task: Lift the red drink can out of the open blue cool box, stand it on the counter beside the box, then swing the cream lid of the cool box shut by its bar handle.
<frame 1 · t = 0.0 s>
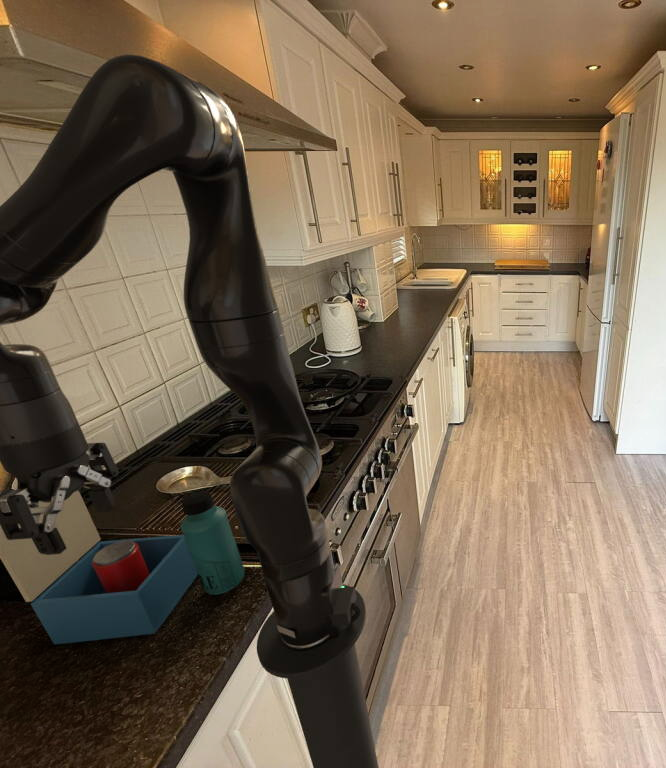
hand: (83, 529, 58), 21 cm above the worktop, tool pointing down, fingers open, 8 cm apart
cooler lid: (28, 532, 63), point 17 cm above the worktop, hinge at 90.0°
beverage bottle: (227, 588, 74), on the worktop
can: (136, 600, 70), point 1 cm above the worktop, touching cool box
cool box: (134, 604, 71), on the worktop
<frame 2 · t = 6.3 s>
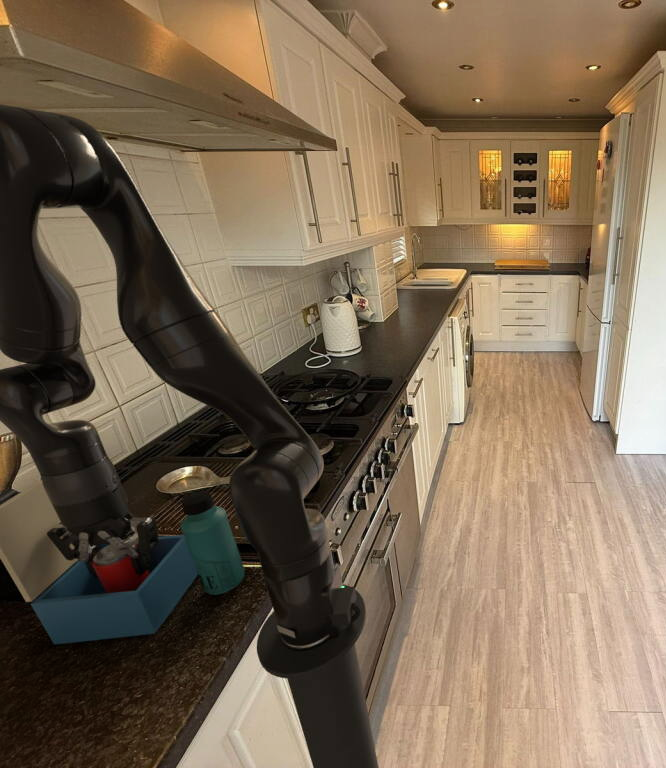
hand: (123, 572, 68), 7 cm above the worktop, tool pointing down, fingers closed on can, 5 cm apart
can: (136, 600, 70), point 1 cm above the worktop, touching cool box, gripper
everything else where it was.
when the fingers open (7 cm above the worktop, at t = 14.4 s): can stays where it is, on the worktop.
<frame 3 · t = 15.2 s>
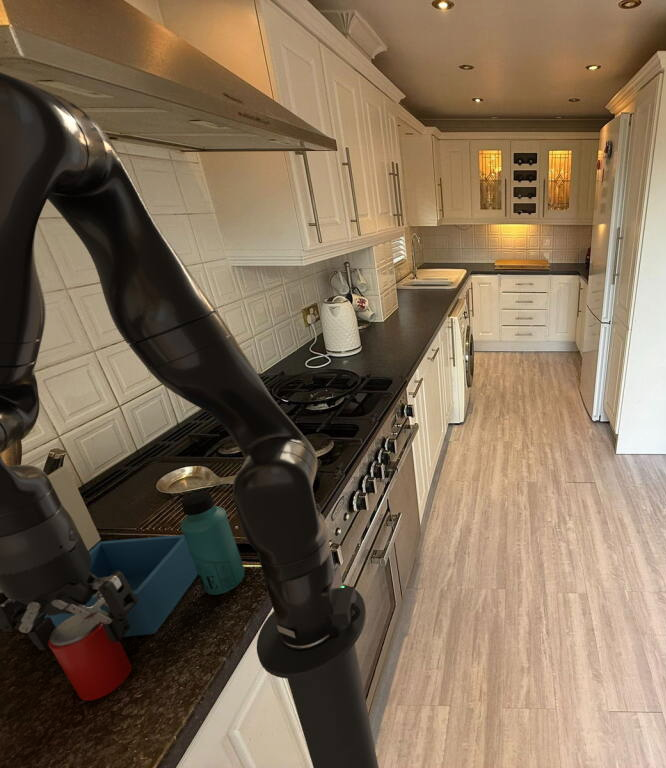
hand: (86, 640, 56), 8 cm above the worktop, tool pointing down, fingers open, 8 cm apart
can: (106, 679, 59), on the worktop
everything else where it was.
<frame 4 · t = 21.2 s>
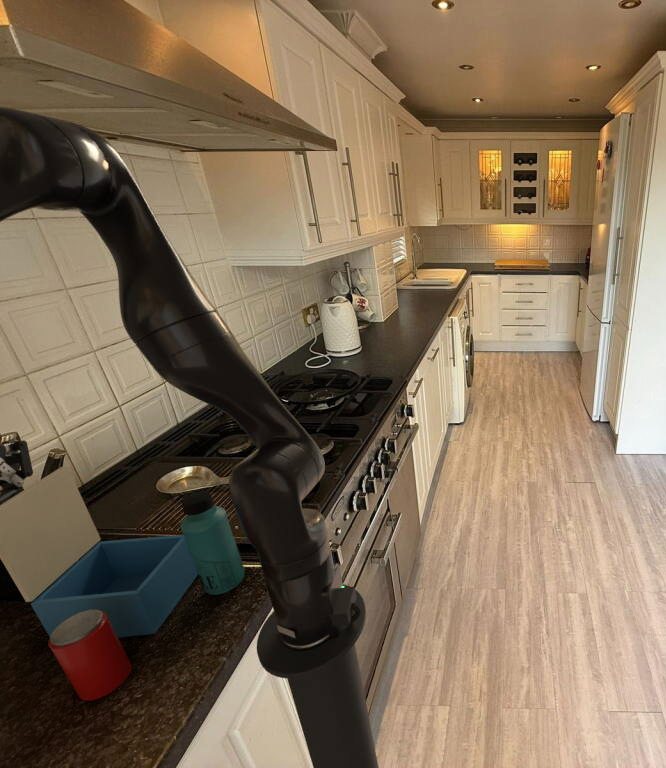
hand: (2, 520, 62), 19 cm above the worktop, tool pointing down, fingers closed on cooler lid, 5 cm apart
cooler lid: (28, 532, 63), point 17 cm above the worktop, hinge at 90.0°, touching gripper
everything else where it was.
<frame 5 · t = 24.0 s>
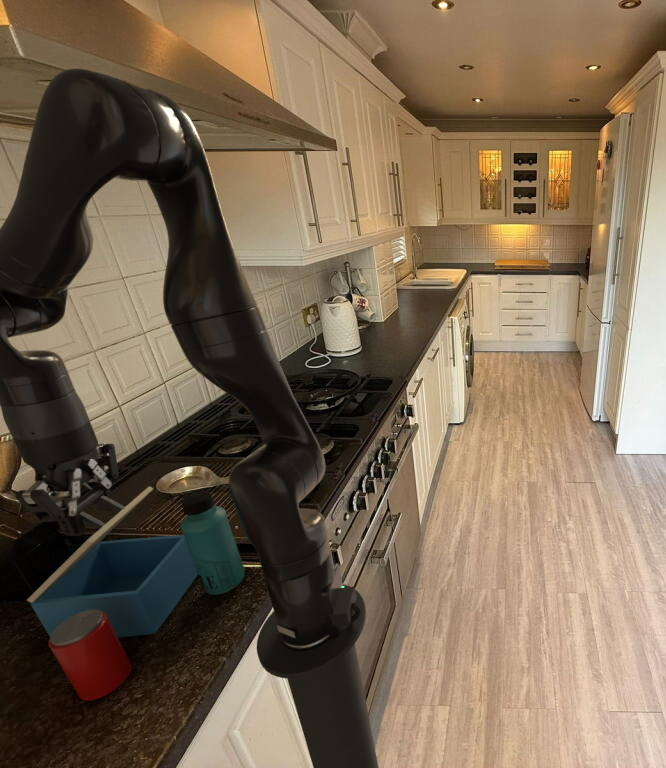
hand: (92, 520, 64), 18 cm above the worktop, tool pointing down, fingers closed on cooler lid, 5 cm apart
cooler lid: (77, 531, 64), point 16 cm above the worktop, hinge at 41.4°, touching gripper
everything else where it was.
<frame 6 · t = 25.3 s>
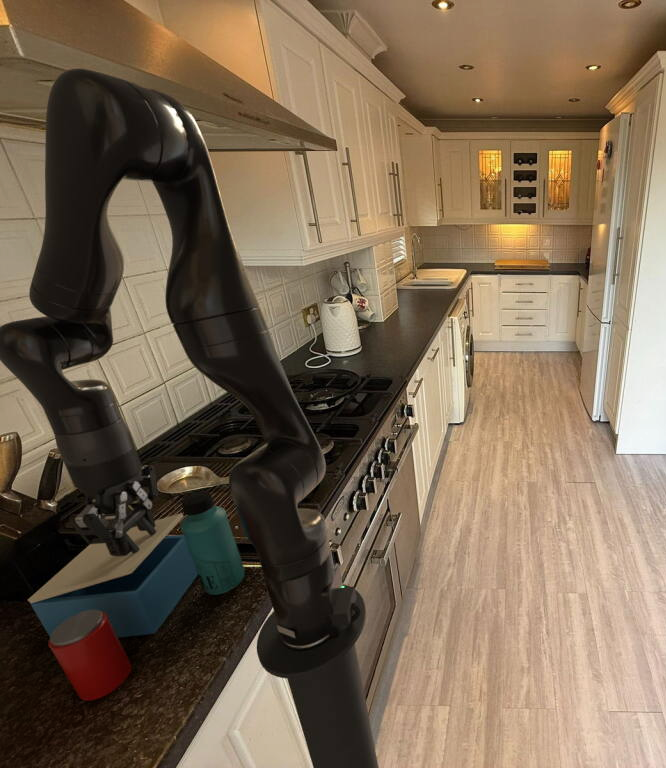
hand: (135, 540, 66), 13 cm above the worktop, tool pointing down, fingers closed on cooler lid, 5 cm apart
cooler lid: (102, 542, 65), point 14 cm above the worktop, hinge at 15.0°, touching gripper
everything else where it was.
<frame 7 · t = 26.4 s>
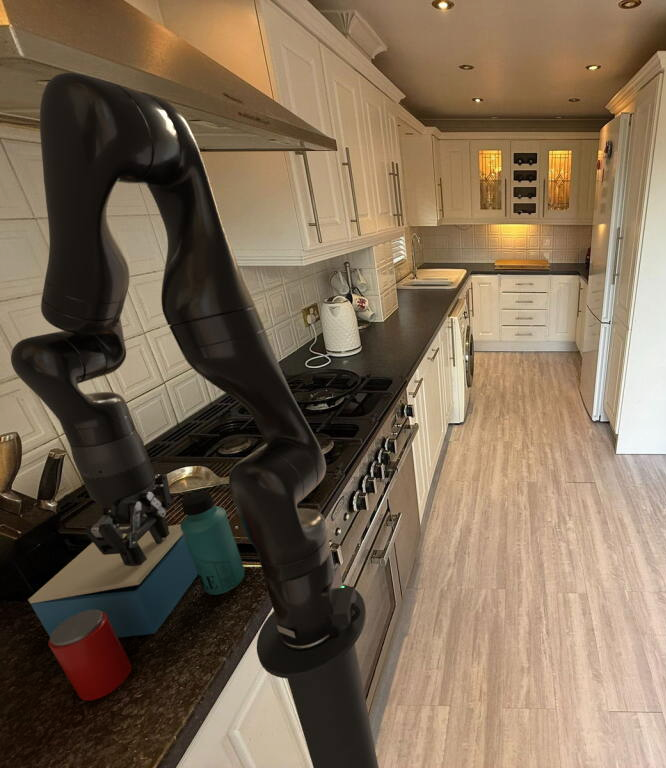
hand: (149, 549, 67), 11 cm above the worktop, tool pointing down, fingers open, 5 cm apart
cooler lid: (109, 547, 66), point 13 cm above the worktop, hinge at 6.4°
everything else where it was.
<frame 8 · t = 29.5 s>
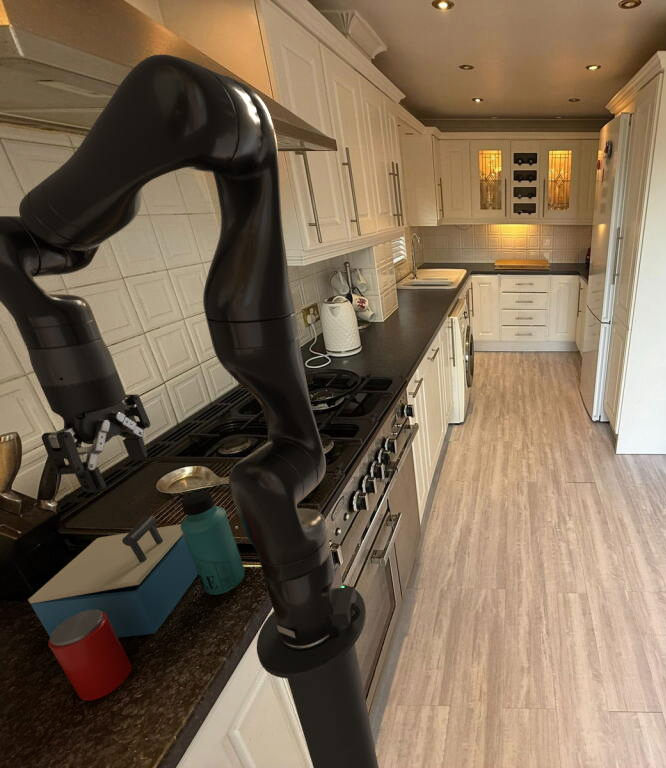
hand: (119, 474, 62), 26 cm above the worktop, tool pointing down, fingers open, 8 cm apart
nothing on the worktop moved.
at the end: can inside the target area (0.1 cm from its centre), on the worktop; can tilted 0°; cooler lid at +6° (first picture: +90°) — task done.
